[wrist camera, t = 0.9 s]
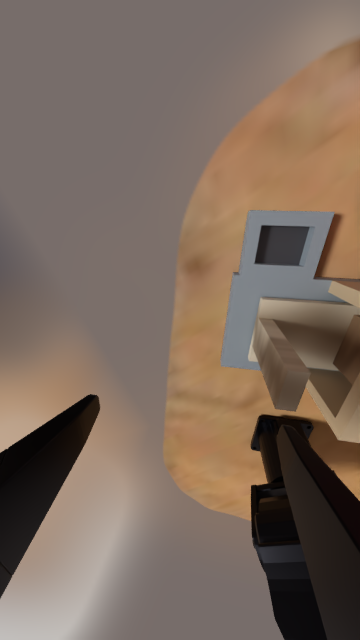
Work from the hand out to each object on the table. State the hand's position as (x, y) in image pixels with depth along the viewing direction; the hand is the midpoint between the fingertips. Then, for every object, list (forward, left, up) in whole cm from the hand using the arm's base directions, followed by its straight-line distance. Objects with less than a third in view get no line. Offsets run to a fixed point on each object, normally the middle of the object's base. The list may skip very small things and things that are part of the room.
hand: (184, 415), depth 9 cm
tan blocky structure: (0, -12, -11) cm, 16 cm away
